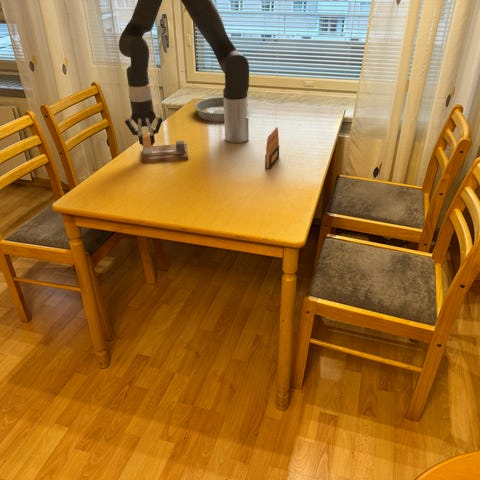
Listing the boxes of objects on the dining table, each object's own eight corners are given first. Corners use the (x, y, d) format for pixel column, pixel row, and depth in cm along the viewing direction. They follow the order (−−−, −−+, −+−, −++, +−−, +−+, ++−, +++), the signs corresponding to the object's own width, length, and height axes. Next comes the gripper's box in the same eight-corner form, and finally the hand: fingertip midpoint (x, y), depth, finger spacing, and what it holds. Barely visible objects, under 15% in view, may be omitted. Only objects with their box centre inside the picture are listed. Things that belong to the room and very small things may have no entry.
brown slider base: (187, 147, 179) (186, 133, 176) (188, 159, 169) (187, 145, 166) (143, 150, 177) (141, 136, 174) (141, 163, 167) (139, 149, 164)
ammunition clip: (269, 169, 161) (270, 137, 154) (264, 168, 161) (265, 136, 155) (279, 157, 169) (280, 126, 162) (274, 157, 170) (275, 125, 163)
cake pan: (258, 110, 214) (258, 101, 211) (229, 127, 197) (228, 116, 194) (215, 102, 225) (214, 93, 222) (184, 117, 208) (183, 107, 205)
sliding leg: (153, 147, 174) (151, 130, 170) (152, 155, 168) (150, 137, 164) (145, 148, 174) (142, 130, 170) (144, 155, 168) (141, 137, 164)
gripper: (161, 93, 161) (166, 139, 171) (121, 95, 160) (128, 142, 170) (161, 99, 155) (166, 147, 165) (119, 102, 154) (127, 150, 164)
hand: (147, 144), depth 167 cm, fingers closed on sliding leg, 3 cm apart
